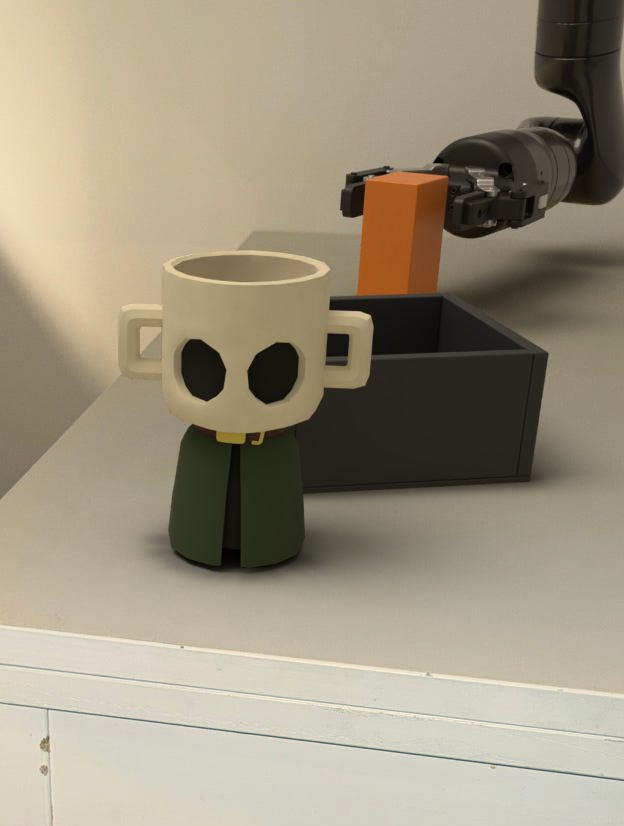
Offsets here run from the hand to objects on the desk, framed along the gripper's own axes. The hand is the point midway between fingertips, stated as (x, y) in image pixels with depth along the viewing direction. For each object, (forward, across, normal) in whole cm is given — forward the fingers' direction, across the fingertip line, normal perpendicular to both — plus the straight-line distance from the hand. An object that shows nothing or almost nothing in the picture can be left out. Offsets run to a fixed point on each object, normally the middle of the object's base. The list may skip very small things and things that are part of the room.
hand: (400, 208), depth 92 cm
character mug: (+40, +13, +9) cm, 43 cm away
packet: (-1, 0, +9) cm, 9 cm away
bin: (+24, +11, +9) cm, 28 cm away
